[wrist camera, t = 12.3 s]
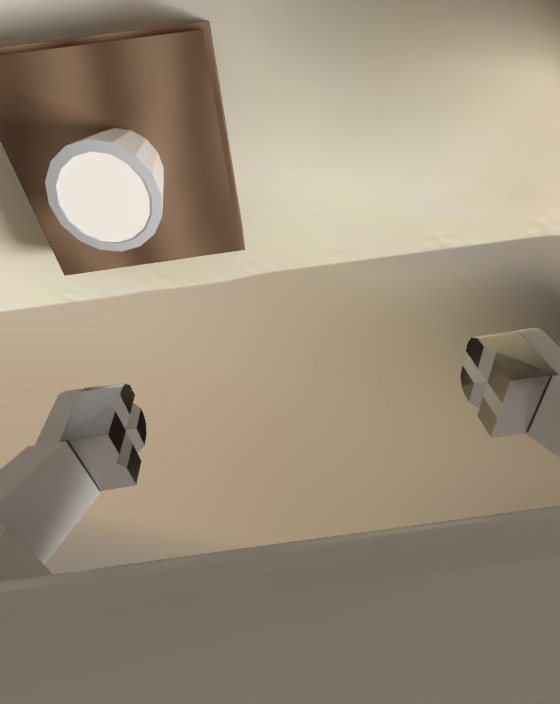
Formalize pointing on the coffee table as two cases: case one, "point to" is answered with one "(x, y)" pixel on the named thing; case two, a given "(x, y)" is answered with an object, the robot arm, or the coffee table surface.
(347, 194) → the coffee table surface
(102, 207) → the white cylinder
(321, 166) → the coffee table surface
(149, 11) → the coffee table surface
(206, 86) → the walnut box
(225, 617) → the robot arm
